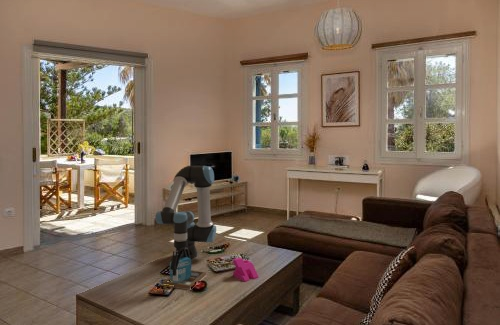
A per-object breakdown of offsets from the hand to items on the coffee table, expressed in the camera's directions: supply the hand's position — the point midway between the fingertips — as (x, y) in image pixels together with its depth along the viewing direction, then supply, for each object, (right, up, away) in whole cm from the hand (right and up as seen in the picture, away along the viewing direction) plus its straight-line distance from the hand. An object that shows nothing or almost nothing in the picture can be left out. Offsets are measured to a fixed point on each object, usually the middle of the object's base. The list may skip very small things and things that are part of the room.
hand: (180, 276), depth 217 cm
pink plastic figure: (+37, -4, +13) cm, 39 cm away
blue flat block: (0, -2, 0) cm, 2 cm away
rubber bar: (+3, -3, +10) cm, 11 cm away
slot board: (+1, -4, +5) cm, 7 cm away
